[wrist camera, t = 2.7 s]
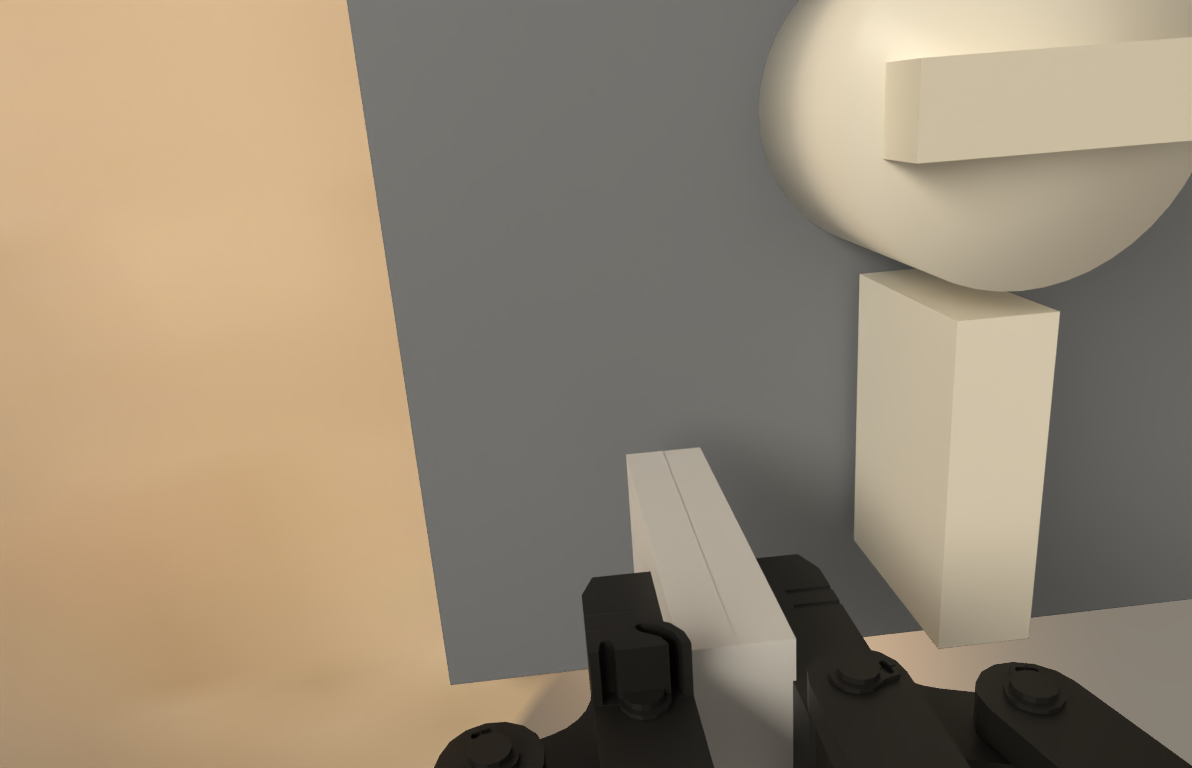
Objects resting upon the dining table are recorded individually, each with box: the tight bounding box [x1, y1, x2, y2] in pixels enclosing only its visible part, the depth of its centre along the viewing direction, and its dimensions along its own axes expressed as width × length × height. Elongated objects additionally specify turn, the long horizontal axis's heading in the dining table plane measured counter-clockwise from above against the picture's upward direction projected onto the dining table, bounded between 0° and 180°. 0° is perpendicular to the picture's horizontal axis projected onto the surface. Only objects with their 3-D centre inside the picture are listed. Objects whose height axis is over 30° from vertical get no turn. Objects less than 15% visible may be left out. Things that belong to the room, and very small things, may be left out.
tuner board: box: [347, 0, 1192, 685], centre depth 19 cm, size 24×26×2 cm
